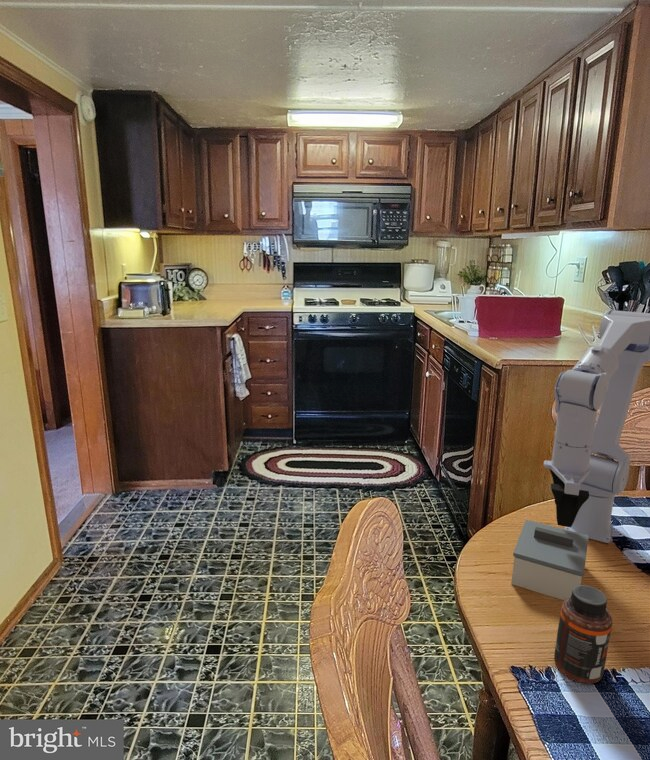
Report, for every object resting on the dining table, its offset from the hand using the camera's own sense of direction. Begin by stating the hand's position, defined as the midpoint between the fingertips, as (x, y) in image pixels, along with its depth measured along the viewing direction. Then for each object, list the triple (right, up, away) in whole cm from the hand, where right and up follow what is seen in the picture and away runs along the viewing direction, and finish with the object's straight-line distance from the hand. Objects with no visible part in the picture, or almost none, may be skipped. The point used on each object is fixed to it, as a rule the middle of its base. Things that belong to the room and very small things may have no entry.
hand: (562, 514), depth 89 cm
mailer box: (-3, -10, -1) cm, 10 cm away
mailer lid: (-3, -5, -2) cm, 6 cm away
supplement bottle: (-8, -15, -21) cm, 27 cm away
